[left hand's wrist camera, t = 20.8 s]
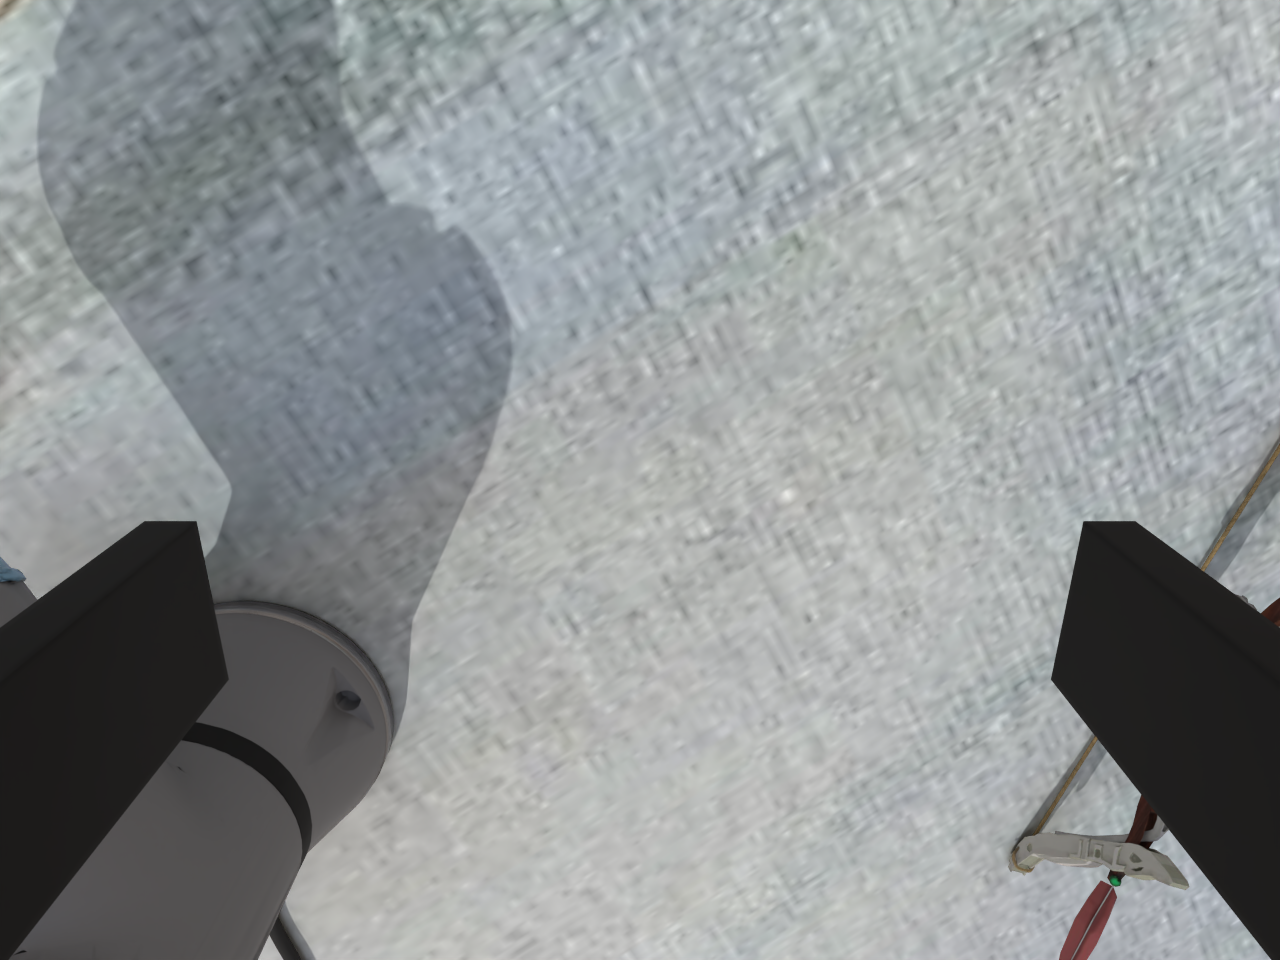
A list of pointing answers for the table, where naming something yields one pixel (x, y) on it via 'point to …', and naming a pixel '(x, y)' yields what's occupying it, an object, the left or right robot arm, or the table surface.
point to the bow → (1114, 850)
